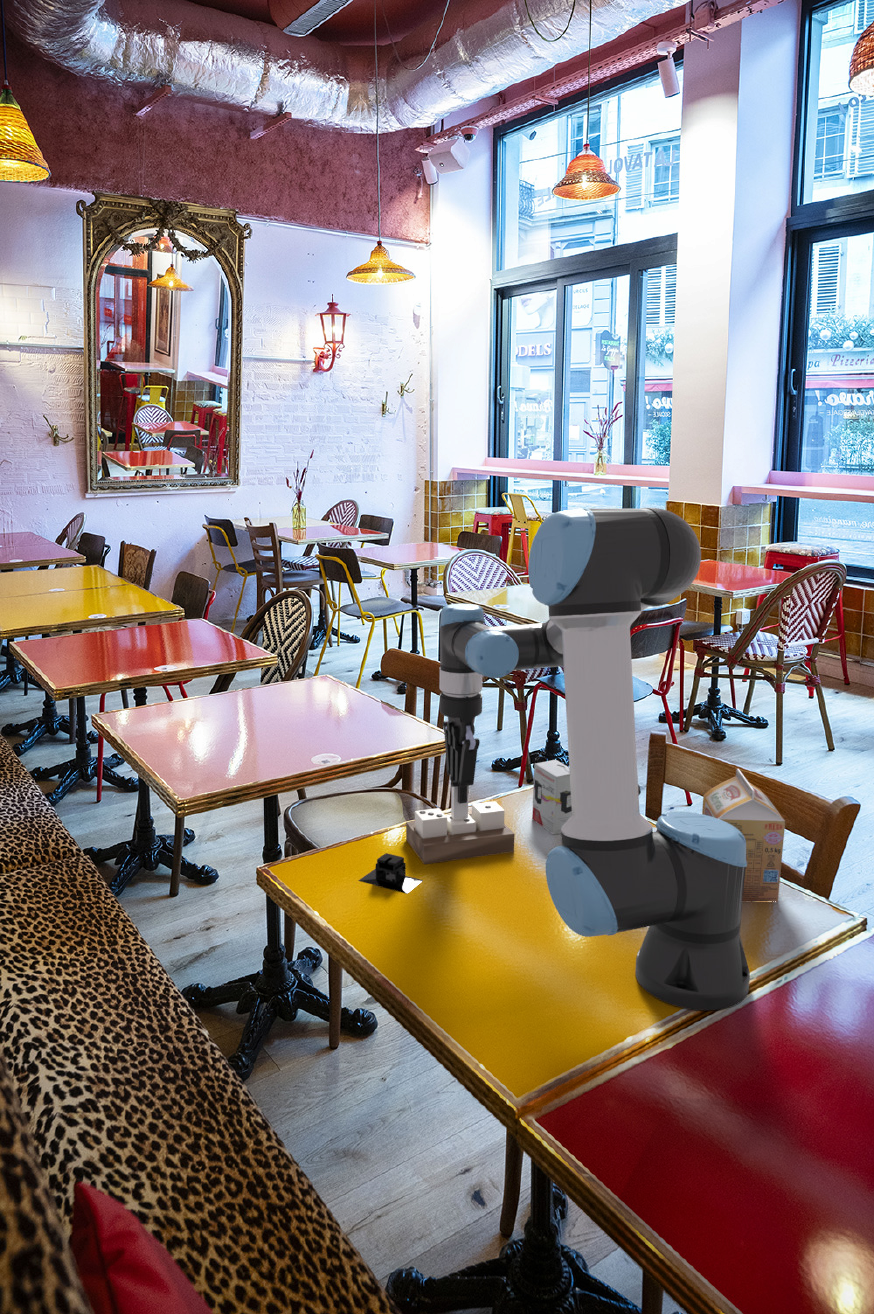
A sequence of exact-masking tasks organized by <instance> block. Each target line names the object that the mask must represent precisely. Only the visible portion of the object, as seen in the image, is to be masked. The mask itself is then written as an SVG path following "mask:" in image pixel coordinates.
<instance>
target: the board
mask: <svg viewBox="0 0 874 1314" xmlns="http://www.w3.org/2000/svg"><path fill="white" fill-rule="evenodd" d="M468 814H469V815H470V816H471V818H472V813H468ZM405 830H406V831H405V833H406V834H405V836H406V837H405V839H406V841H407V843H408V844H409V845H410V847H411V848H412V850H413V851H414V852H415V854H416V855H417V856H418V858H419V859H420V860H421V862H422V863H423V864H424V865H429V864H435V863H441V862H451V861H455V860H456V861H457V860H463V859H471V858H478V857H484V856H493V855H500V854H507V853H513V852H515V832H513V830H512V829H511V828H509V826H508V825H507V824H506V823H504V828H500V829H493V830H485V831H479V830H478V829H477V828H476V832H470V833H462V834H454V835H450V833H449V832H448V831H447V836H439V837H431V838H424V839H421V838H420V836H419V835H418V834H417V832H416V831H415V820H410V821H406V822H405Z"/></svg>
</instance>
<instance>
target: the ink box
mask: <svg viewBox="0 0 874 1314" xmlns="http://www.w3.org/2000/svg"><path fill="white" fill-rule="evenodd" d="M533 771H534V772H533V788H532V789H533V794H532V813H531V814H532V815H531V816H532V817H531V819H532V820H533V821H534V822H536V823H537V824H538V825H540V826H541V827H543V828H544V829H545V830H547V831H549V832H550V833H551V834H553V835H561V827H562V826H563V825H564V824H565V823H566V822H567V821H568V819H569V818H570V817H571V816H572V805H571V787H570V769H569V765H568V766H567V765H565V764H564V763H563V762H560V761H559V760H557V759H552V760H548V761H542V762H537V763H536V762H535V763H534V766H533Z"/></svg>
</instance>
